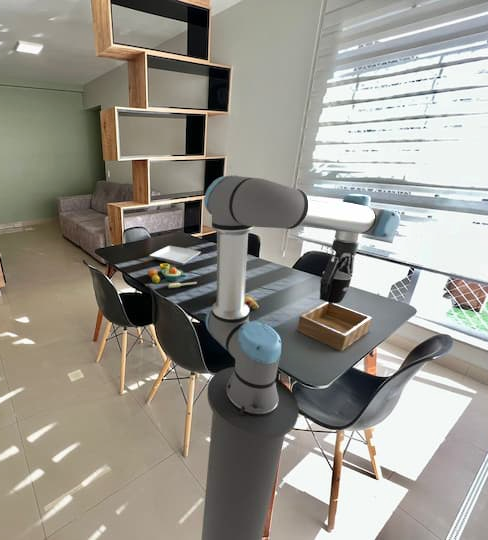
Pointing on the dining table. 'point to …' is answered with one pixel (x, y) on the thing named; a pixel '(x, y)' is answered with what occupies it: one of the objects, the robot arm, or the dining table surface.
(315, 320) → the crate
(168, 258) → the square plate
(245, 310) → the robot arm
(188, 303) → the dining table surface
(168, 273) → the toy juicer set
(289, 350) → the dining table surface
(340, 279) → the mug
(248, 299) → the croissant
